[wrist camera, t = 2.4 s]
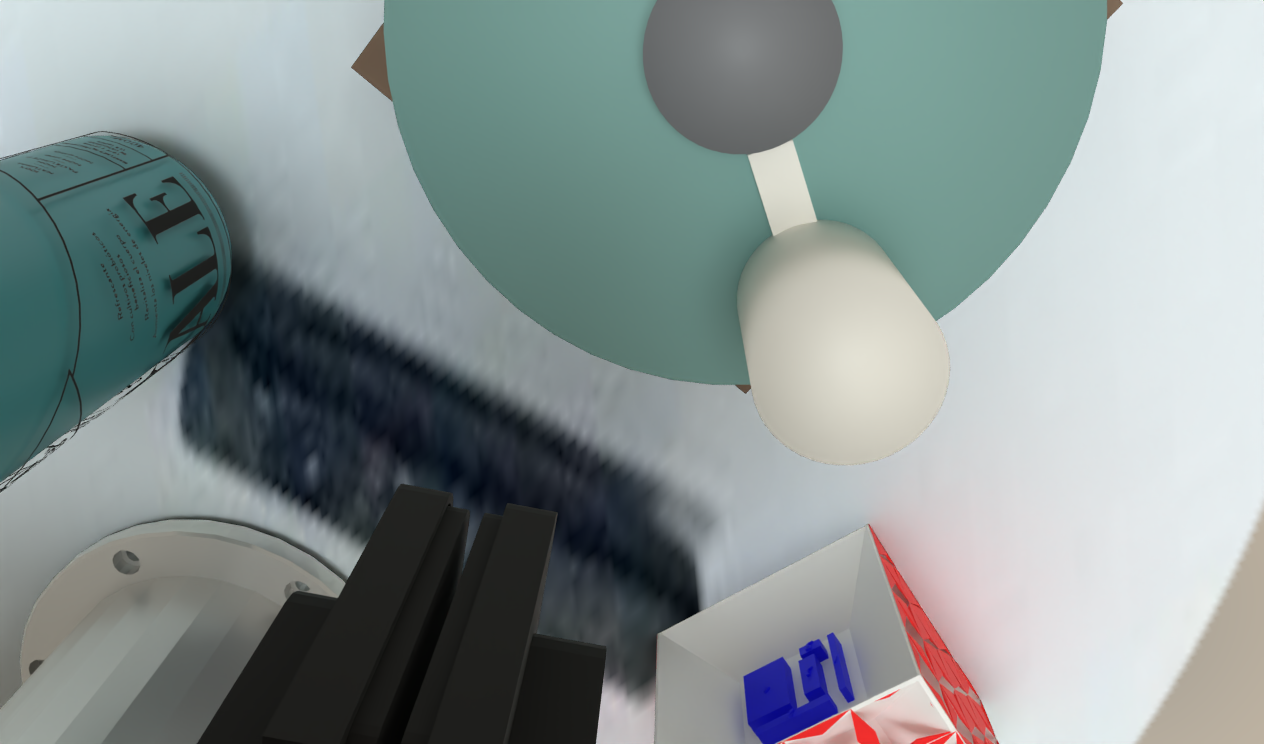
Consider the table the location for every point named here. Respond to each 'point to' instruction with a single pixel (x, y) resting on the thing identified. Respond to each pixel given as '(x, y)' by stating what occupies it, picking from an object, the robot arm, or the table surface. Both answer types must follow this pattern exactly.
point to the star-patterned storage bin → (816, 662)
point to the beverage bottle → (97, 280)
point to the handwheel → (749, 180)
